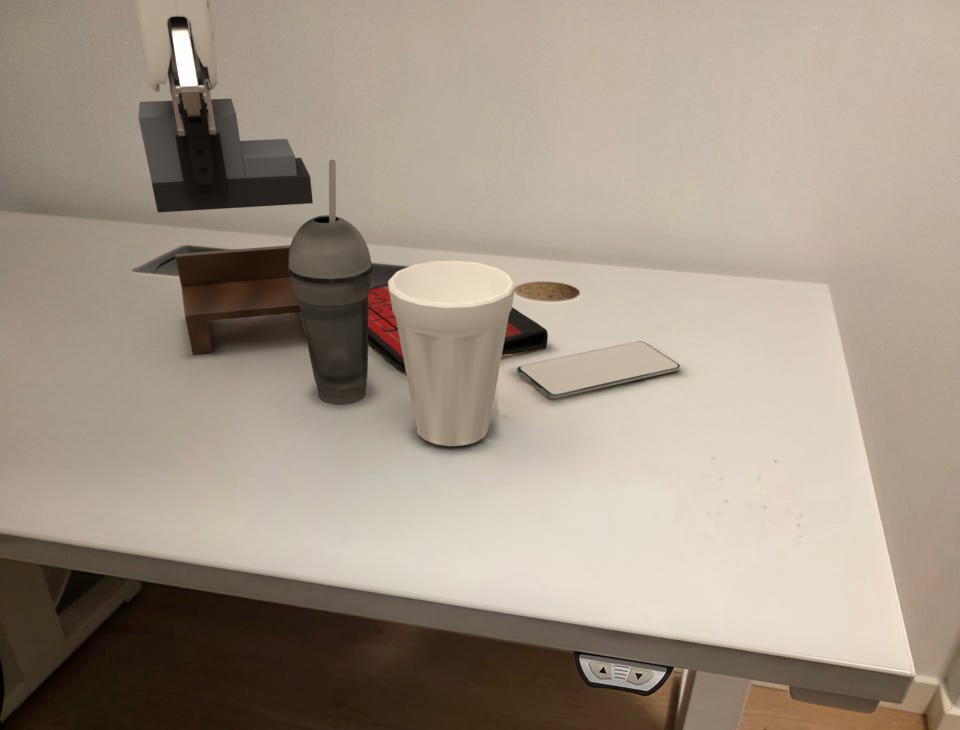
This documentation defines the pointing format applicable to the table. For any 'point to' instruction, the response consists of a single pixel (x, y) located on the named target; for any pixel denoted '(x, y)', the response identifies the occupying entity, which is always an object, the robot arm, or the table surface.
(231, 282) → the bench
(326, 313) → the beverage cup
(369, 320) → the binder
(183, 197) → the stepped block on base
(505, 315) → the cup
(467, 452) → the table surface
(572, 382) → the smartphone
